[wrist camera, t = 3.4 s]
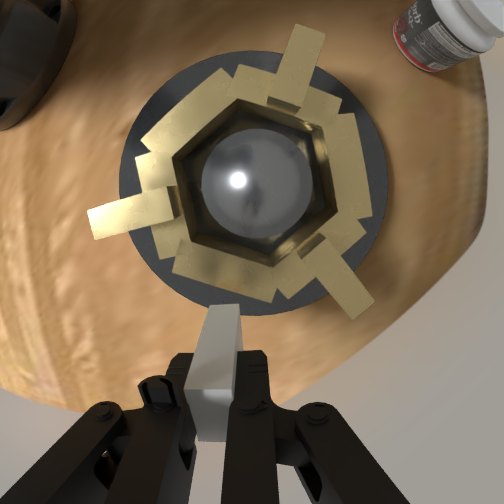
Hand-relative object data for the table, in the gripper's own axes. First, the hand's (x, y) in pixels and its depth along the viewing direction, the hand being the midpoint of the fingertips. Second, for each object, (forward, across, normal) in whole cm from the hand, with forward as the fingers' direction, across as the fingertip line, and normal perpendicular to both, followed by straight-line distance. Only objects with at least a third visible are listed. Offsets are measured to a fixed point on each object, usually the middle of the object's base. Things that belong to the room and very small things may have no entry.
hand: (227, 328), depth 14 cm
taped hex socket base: (+4, +3, +6) cm, 8 cm away
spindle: (+6, +2, +7) cm, 10 cm away
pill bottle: (+6, +17, +19) cm, 26 cm away
